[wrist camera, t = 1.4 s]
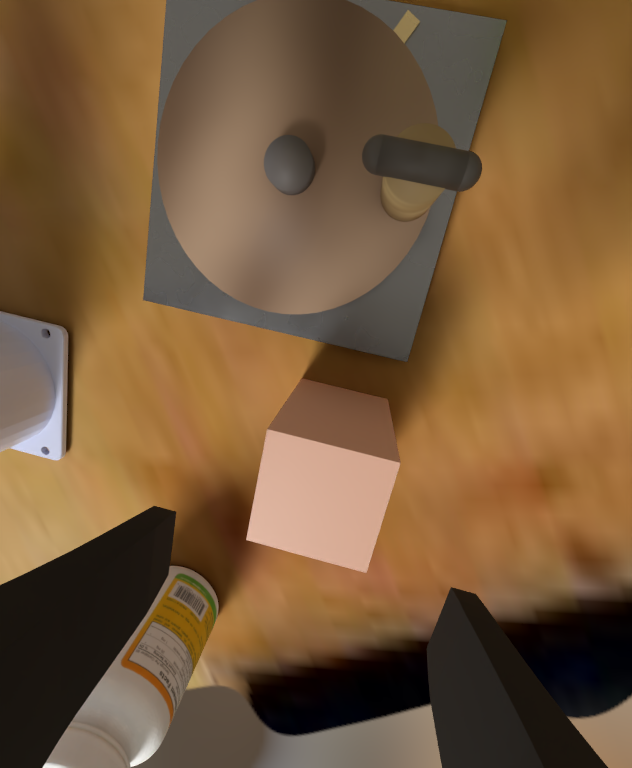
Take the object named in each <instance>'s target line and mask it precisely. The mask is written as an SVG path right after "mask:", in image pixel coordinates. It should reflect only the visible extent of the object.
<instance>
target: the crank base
mask: <svg viewBox="0 0 632 768" xmlns="http://www.w3.org/2000/svg"><path fill="white" fill-rule="evenodd" d="M254 1H257V0H167V1H166V14H165V27H164V40H163V53H162V65H161V78H160V91H159V104H158V117H157V130H156V143H155V156H154V168H153V181H152V194H151V207H150V220H149V233H148V246H147V259H146V271H145V284H144V297H143V300H146V301H150V302H154V303H158V304H163V305H167V306H171V307H175V308H180V309H184V310H188V311H192V312H197V313H201V314H205V315H209V316H214V317H218V318H222V319H226V320H231V321H235V322H239V323H243V324H248V325H252V326H256V327H260V328H265V329H269V330H273V331H277V332H282V333H286V334H290V335H294V336H299V337H303V338H307V339H311V340H316V341H320V342H324V343H328V344H333V345H337V346H341V347H345V348H350V349H354V350H358V351H362V352H367V353H371V354H375V355H379V356H384V357H388V358H392V359H396V360H401V361H405V362H407V361H408V358H409V354H410V351H411V347H412V344H413V340H414V337H415V334H416V330H417V327H418V323H419V320H420V316H421V313H422V310H423V306H424V303H425V299H426V296H427V292H428V289H429V286H430V282H431V279H432V275H433V272H434V269H435V265H436V262H437V258H438V255H439V251H440V248H441V245H442V241H443V238H444V234H445V231H446V227H447V224H448V221H449V217H450V214H451V210H452V207H453V203H454V200H455V197H456V193H457V191H452V190H447V189H445V190H444V191H443V192H442V193H441V194H440V196H439V197H438V198H437V199H436V201H435V202H434V203H433V204H432V205H431V207H430V210H429V213H428V216H427V219H426V221H425V223H424V225H423V227H422V229H421V231H420V234H419V236H418V238H417V239H416V241H415V242H414V244H413V245H412V247H411V249H410V250H409V252H408V253H407V255H406V256H405V257H404V258H403V260H402V261H401V262H400V263H399V265H398V266H397V267H396V268H395V269H394V270H393V271H392V272H391V273H390V274H389V275H388V276H387V277H386V278H385V279H384V280H383V281H382V282H381V283H379V284H378V285H377V286H375V287H374V288H373V289H371V290H370V291H368V292H367V293H366V294H364V295H362V296H360V297H359V298H357V299H355V300H353V301H351V302H349V303H347V304H344V305H342V306H339V307H337V308H334V309H330V310H326V311H322V312H318V313H309V314H281V313H275V312H268V311H265V310H261V309H258V308H255V307H251V306H249V305H247V304H245V303H243V302H240V301H238V300H236V299H235V298H233V297H231V296H230V295H228V294H226V293H225V292H223V291H222V290H220V289H219V288H218V287H217V286H215V285H214V284H213V283H212V282H211V281H209V280H208V279H207V278H206V277H205V276H204V275H203V274H202V273H201V272H200V270H199V269H198V268H197V267H196V266H195V265H194V263H193V262H192V261H191V260H190V258H189V257H188V256H187V254H186V253H185V251H184V250H183V248H182V246H181V244H180V243H179V241H178V239H177V238H176V236H175V233H174V231H173V229H172V227H171V224H170V222H169V220H168V216H167V213H166V210H165V207H164V204H163V200H162V195H161V190H160V185H159V177H158V165H157V154H158V137H159V130H160V122H161V118H162V114H163V110H164V106H165V102H166V99H167V97H168V94H169V92H170V89H171V86H172V84H173V81H174V79H175V77H176V76H177V74H178V72H179V70H180V68H181V66H182V64H183V63H184V61H185V60H186V58H187V57H188V55H189V54H190V52H191V51H192V50H193V48H194V47H195V45H196V44H197V43H198V42H199V41H200V40H201V39H202V38H203V37H204V36H205V34H206V33H207V32H208V31H209V30H210V29H212V28H213V27H214V26H215V25H216V24H218V23H219V22H220V21H221V20H222V19H224V18H225V17H226V16H228V15H229V14H231V13H233V12H234V11H236V10H238V9H239V8H241V7H242V6H245V5H247V4H249V3H252V2H254ZM347 1H349V2H352V3H354V4H356V5H358V6H361V7H363V8H364V9H366V10H367V11H369V12H370V13H372V14H373V15H375V16H376V17H378V18H379V19H381V20H382V21H383V22H384V23H385V24H386V25H387V26H388V27H390V28H391V29H392V30H393V31H394V32H395V33H396V34H397V35H398V36H399V38H400V39H401V40H402V41H403V43H404V44H405V45H406V46H407V47H408V49H409V50H410V51H411V53H412V55H413V56H414V58H415V60H416V61H417V63H418V65H419V66H420V68H421V70H422V72H423V75H424V77H425V79H426V81H427V84H428V86H429V88H430V91H431V95H432V98H433V102H434V105H435V109H436V114H437V120H438V126H439V127H441V128H443V129H444V130H445V131H446V132H448V134H449V135H450V136H451V138H452V139H453V141H454V144H455V146H456V149H461V150H467V151H469V149H470V145H471V142H472V138H473V135H474V131H475V128H476V125H477V121H478V118H479V114H480V111H481V107H482V104H483V101H484V97H485V94H486V90H487V87H488V83H489V80H490V77H491V73H492V70H493V66H494V63H495V59H496V56H497V53H498V49H499V46H500V42H501V39H502V35H503V32H504V29H505V25H506V22H507V20H501V19H495V18H489V17H483V16H477V15H471V14H466V13H460V12H454V11H448V10H442V9H436V8H430V7H424V6H418V5H412V4H406V3H400V2H394V1H388V0H347Z"/></svg>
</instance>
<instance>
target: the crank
mask: <svg viewBox="0 0 632 768" xmlns="http://www.w3.org/2000/svg"><path fill="white" fill-rule="evenodd" d="M157 165H158V177H159V185H160V190H161V195H162V200H163V204H164V207H165V210H166V213H167V216H168V220H169V222H170V224H171V227H172V229H173V231H174V233H175V236H176V238H177V239H178V241H179V243H180V244H181V246H182V248H183V250H184V251H185V253H186V254H187V256H188V257H189V258H190V260H191V261H192V262H193V263H194V265H195V266H196V267H197V268H198V269H199V270H200V272H201V273H202V274H203V275H204V276H205V277H206V278H207V279H208V280H209V281H211V282H212V283H213V284H214V285H215V286H217V287H218V288H219V289H220V290H222V291H223V292H225V293H226V294H228V295H230V296H231V297H233V298H235V299H236V300H238V301H240V302H243V303H245V304H247V305H249V306H251V307H255V308H258V309H261V310H265V311H268V312H275V313H281V314H309V313H318V312H322V311H326V310H330V309H334V308H337V307H339V306H342V305H344V304H347V303H349V302H351V301H353V300H355V299H357V298H359V297H360V296H362V295H364V294H366V293H367V292H368V291H370V290H371V289H373V288H374V287H375V286H377V285H378V284H379V283H381V282H382V281H383V280H384V279H385V278H386V277H387V276H388V275H389V274H390V273H391V272H392V271H393V270H394V269H395V268H396V267H397V266H398V265H399V263H400V262H401V261H402V260H403V258H404V257H405V256H406V255H407V253H408V252H409V250H410V249H411V247H412V245H413V244H414V242H415V241H416V239H417V238H418V236H419V234H420V231H421V229H422V227H423V225H424V223H425V221H426V219H427V216H428V213H429V210H430V207H431V205H432V204H433V203H434V202H435V201H436V199H437V198H438V197H439V196H440V194H441V193H442V192H443V191H444V190H445V189H447V190H452V191H459V192H460V191H465V190H468V189H470V188H471V187H472V186H474V185H475V184H476V182H477V181H478V179H479V178H480V175H481V171H482V163H481V160H480V158H479V157H478V156H477V154H475V153H474V152H471V151H467V150H461V149H456V146H455V144H454V141H453V139H452V138H451V136H450V135H449V134H448V132H446V131H445V130H444V129H443V128H441V127H439V126H438V120H437V114H436V109H435V105H434V102H433V98H432V95H431V91H430V88H429V86H428V84H427V81H426V79H425V77H424V75H423V72H422V70H421V68H420V66H419V65H418V63H417V61H416V60H415V58H414V56H413V55H412V53H411V51H410V50H409V49H408V47H407V46H406V45H405V44H404V43H403V41H402V40H401V39H400V38H399V36H398V35H397V34H396V33H395V32H394V31H393V30H392V29H391V28H390V27H388V26H387V25H386V24H385V23H384V22H383V21H382V20H381V19H379V18H378V17H376V16H375V15H373V14H372V13H370V12H369V11H367V10H366V9H364V8H363V7H361V6H358V5H356V4H354V3H352V2H349V1H347V0H257V1H254V2H252V3H249V4H247V5H245V6H242V7H241V8H239V9H238V10H236V11H234V12H233V13H231V14H229V15H228V16H226V17H225V18H224V19H222V20H221V21H220V22H219V23H218V24H216V25H215V26H214V27H213V28H212V29H210V30H209V31H208V32H207V33H206V34H205V36H204V37H203V38H202V39H201V40H200V41H199V42H198V43H197V44H196V45H195V47H194V48H193V50H192V51H191V52H190V54H189V55H188V57H187V58H186V60H185V61H184V63H183V64H182V66H181V68H180V70H179V72H178V74H177V76H176V77H175V79H174V81H173V84H172V86H171V89H170V92H169V94H168V97H167V99H166V102H165V106H164V110H163V114H162V118H161V122H160V130H159V137H158V154H157Z"/></svg>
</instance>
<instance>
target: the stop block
mask: <svg viewBox="0 0 632 768" xmlns="http://www.w3.org/2000/svg"><path fill="white" fill-rule="evenodd" d="M399 466H400V458H399V453H398V448H397V443H396V438H395V433H394V428H393V423H392V418H391V413H390V408H389V403H388V399H385V398H381V397H377V396H373V395H369V394H365V393H360V392H356V391H352V390H348V389H344V388H340V387H336V386H332V385H327V384H323V383H319V382H315V381H311V380H307V379H303V378H302V379H301V380H300V382H299V383H298V385H297V386H296V388H295V389H294V391H293V392H292V394H291V395H290V396H289V398H288V399H287V401H286V402H285V404H284V405H283V407H282V408H281V410H280V411H279V413H278V414H277V416H276V417H275V418H274V420H273V421H272V423H271V424H270V426H269V427H268V429H267V433H266V438H265V444H264V449H263V454H262V459H261V465H260V470H259V475H258V480H257V486H256V491H255V496H254V501H253V507H252V512H251V517H250V523H249V528H248V533H247V538H246V540H248V541H252V542H256V543H259V544H263V545H266V546H270V547H274V548H277V549H281V550H285V551H288V552H292V553H295V554H299V555H303V556H306V557H310V558H314V559H317V560H321V561H325V562H328V563H332V564H335V565H339V566H343V567H346V568H350V569H354V570H357V571H361V572H364V573H366V572H367V569H368V566H369V563H370V559H371V556H372V553H373V550H374V547H375V543H376V540H377V537H378V534H379V531H380V527H381V524H382V521H383V518H384V514H385V511H386V508H387V505H388V502H389V498H390V495H391V492H392V489H393V486H394V482H395V479H396V476H397V473H398V470H399Z"/></svg>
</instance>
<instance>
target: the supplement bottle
mask: <svg viewBox="0 0 632 768" xmlns="http://www.w3.org/2000/svg"><path fill="white" fill-rule="evenodd" d="M218 609H219V604H218V599H217V596H216V594H215V591H214V590H213V588H212V587H211V585H210V584H209V583H208V582H207V581H206V580H205V579H204V578H203V577H202V576H201V575H199V574H198V573H196V572H195V571H193V570H190V569H188V568H185V567H180V566H170V567H169V575H168V577H167V578H166V580H165V582H164V584H163V586H162V588H161V589H160V591H159V593H158V595H157V597H156V598H155V600H154V602H153V604H152V605H151V607H150V609H149V611H148V612H147V614H146V616H145V617H144V619H143V620H142V622H141V623H140V624H139V626H138V627H137V629H136V630H135V632H134V633H133V634H132V636H131V637H130V639H129V640H128V642H127V643H126V645H125V646H124V647H123V649H122V650H121V652H120V653H119V654H118V656H117V657H116V659H115V660H114V662H113V663H112V664H111V666H110V667H109V669H108V670H107V671H106V673H105V674H104V676H103V677H102V679H101V680H100V681H99V683H98V684H97V686H96V687H95V688H94V690H93V691H92V693H91V694H90V696H89V697H88V698H87V700H86V701H85V703H84V704H83V705H82V707H81V708H80V710H79V711H78V713H77V714H76V715H75V717H74V718H73V720H72V721H71V723H70V725H69V726H68V728H67V729H66V731H65V732H64V734H63V735H62V737H61V738H60V740H59V741H58V743H57V745H56V746H55V748H54V750H53V751H52V753H51V754H50V756H49V758H48V759H47V761H46V763H45V764H44V766H43V768H130V767H132V766H135V765H137V764H140V763H142V762H144V761H145V760H147V759H148V758H149V757H151V756H152V755H153V754H154V753H155V751H156V750H157V749H158V748H159V746H160V744H161V743H162V741H163V739H164V737H165V734H166V732H167V730H168V728H169V726H170V724H171V721H172V719H173V717H174V714H175V712H176V710H177V708H178V705H179V703H180V701H181V698H182V696H183V694H184V692H185V689H186V687H187V685H188V683H189V680H190V678H191V676H192V674H193V671H194V669H195V667H196V665H197V662H198V660H199V658H200V656H201V653H202V651H203V649H204V646H205V644H206V642H207V640H208V638H209V635H210V633H211V631H212V629H213V626H214V624H215V621H216V619H217V615H218Z"/></svg>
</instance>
